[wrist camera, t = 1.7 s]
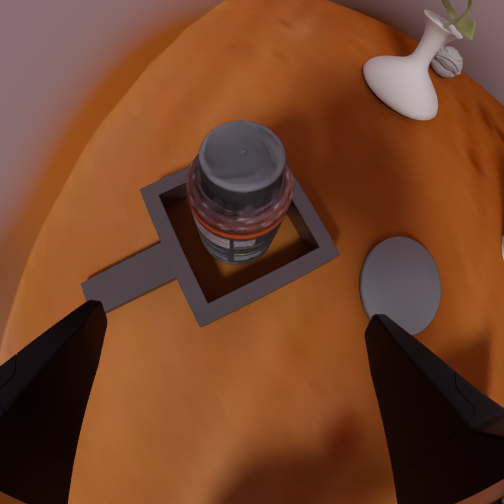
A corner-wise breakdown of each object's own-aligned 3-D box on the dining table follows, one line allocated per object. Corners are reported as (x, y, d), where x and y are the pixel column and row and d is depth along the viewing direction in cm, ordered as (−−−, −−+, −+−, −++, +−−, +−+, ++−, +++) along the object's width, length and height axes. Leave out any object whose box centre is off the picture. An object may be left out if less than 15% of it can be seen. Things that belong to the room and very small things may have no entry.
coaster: (386, 356, 22) (390, 356, 21) (341, 265, 23) (344, 263, 22) (447, 303, 23) (452, 302, 22) (409, 224, 25) (413, 221, 24)
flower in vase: (363, 56, 31) (424, -73, 7) (429, 93, 31) (509, -16, 7) (350, 106, 28) (441, -73, 4) (431, 151, 28) (554, 19, 4)
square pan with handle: (117, 365, 20) (105, 370, 17) (72, 242, 22) (58, 233, 19) (329, 261, 23) (340, 254, 21) (264, 152, 25) (268, 136, 23)
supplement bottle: (244, 184, 24) (257, 89, 13) (287, 238, 23) (335, 168, 12) (185, 222, 23) (155, 140, 12) (227, 281, 22) (228, 239, 11)
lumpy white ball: (421, 70, 33) (439, 43, 26) (425, 57, 35) (441, 32, 28) (450, 92, 32) (470, 67, 26) (451, 76, 34) (469, 54, 28)
